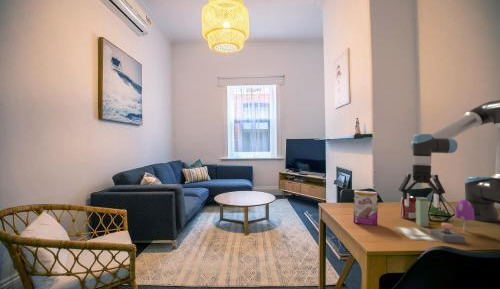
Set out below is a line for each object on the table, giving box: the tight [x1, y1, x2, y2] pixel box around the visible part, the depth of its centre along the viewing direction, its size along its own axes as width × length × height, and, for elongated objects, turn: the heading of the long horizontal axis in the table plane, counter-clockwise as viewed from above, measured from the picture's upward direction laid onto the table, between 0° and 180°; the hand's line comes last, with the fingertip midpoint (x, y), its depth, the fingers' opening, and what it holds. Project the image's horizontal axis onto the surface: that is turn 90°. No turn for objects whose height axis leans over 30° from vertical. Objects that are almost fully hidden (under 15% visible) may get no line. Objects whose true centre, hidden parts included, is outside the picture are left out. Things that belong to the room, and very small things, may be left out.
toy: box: [454, 199, 475, 232], centre depth 108 cm, size 7×7×15 cm
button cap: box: [440, 222, 454, 234], centre depth 99 cm, size 4×4×4 cm
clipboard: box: [392, 226, 459, 244], centre depth 104 cm, size 20×16×1 cm
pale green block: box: [415, 196, 429, 227], centre depth 116 cm, size 4×4×14 cm
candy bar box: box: [353, 189, 379, 227], centre depth 120 cm, size 11×5×16 cm, turn 65°
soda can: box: [400, 195, 416, 220], centre depth 129 cm, size 7×7×12 cm
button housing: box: [430, 228, 466, 244], centre depth 99 cm, size 8×8×2 cm
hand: (421, 206), depth 116 cm, fingers open, 13 cm apart
